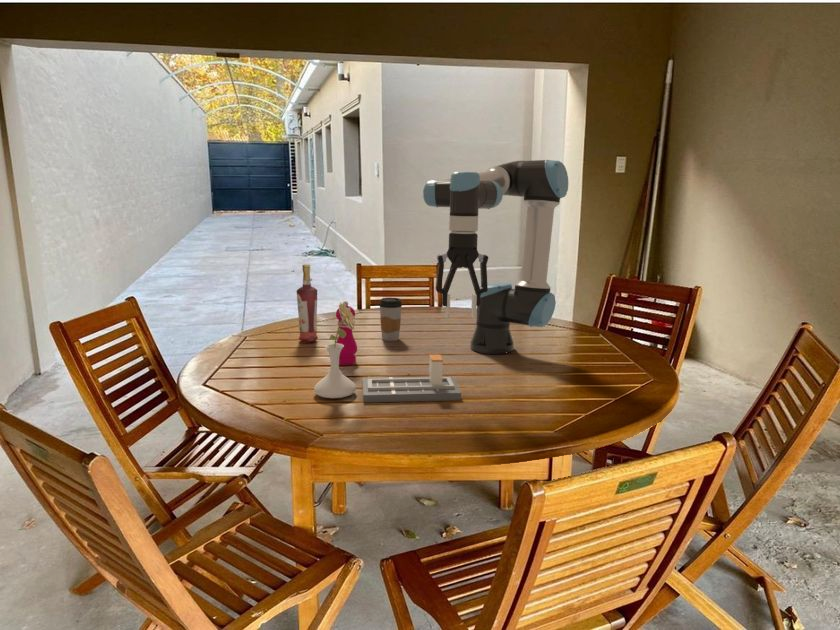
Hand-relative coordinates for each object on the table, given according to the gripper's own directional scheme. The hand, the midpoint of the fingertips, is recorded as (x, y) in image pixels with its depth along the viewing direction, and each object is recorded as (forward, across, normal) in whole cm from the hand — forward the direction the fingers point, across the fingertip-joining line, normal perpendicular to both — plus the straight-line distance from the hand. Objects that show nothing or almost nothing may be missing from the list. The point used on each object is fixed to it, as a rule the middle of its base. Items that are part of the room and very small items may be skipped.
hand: (460, 317), depth 156 cm
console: (+21, +14, 0) cm, 25 cm away
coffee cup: (+21, +16, -57) cm, 63 cm away
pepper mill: (+21, +32, -29) cm, 48 cm away
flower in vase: (+21, +34, 0) cm, 40 cm away
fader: (+19, +7, 0) cm, 20 cm away
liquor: (+21, +46, -55) cm, 74 cm away
